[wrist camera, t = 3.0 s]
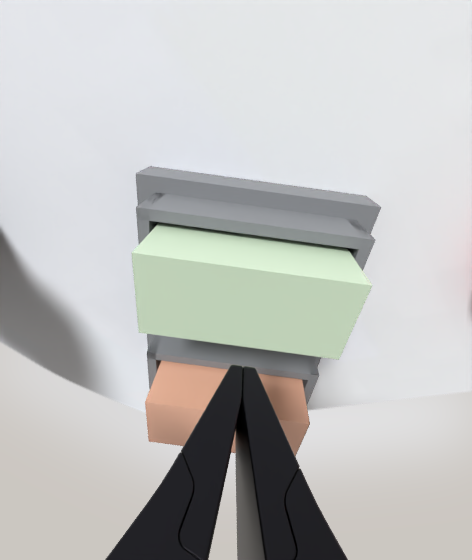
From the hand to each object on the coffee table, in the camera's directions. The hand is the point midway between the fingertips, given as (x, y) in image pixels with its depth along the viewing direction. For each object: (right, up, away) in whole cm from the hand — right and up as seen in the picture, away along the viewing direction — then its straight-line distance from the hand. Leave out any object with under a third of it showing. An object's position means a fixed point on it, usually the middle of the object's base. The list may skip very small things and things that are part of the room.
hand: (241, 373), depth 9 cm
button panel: (0, +2, +13) cm, 13 cm away
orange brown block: (-1, -5, +12) cm, 12 cm away
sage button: (0, +4, +6) cm, 8 cm away
